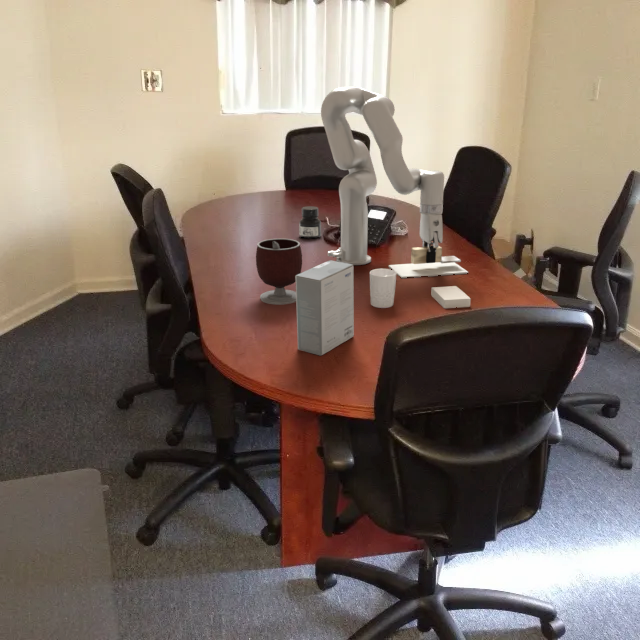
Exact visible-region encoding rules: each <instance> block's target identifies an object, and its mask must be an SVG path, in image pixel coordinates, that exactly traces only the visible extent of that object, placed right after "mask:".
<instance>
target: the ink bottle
mask: <svg viewBox="0 0 640 640" xmlns="http://www.w3.org/2000/svg"><path fill="white" fill-rule="evenodd" d="M301 217H302V218H301V219H300V220H299V225H298V228H299V229H298V232H299V233H298V234H299V237H300V236H301V237H305V238H304V239H306V238H315V239H317V238H316V237H319V238H320V237H322V221H321V220H320V219H319V207H318V206H307V205H306V206H303V207H301ZM301 237H300V238H301Z"/></svg>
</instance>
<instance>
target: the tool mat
mask: <svg viewBox="0 0 640 640" xmlns="http://www.w3.org/2000/svg"><path fill="white" fill-rule="evenodd" d="M388 269H392V270H394V271H396V273H397V274H396V276H398V277H399V276H400V277H401V279H408V278H407V277H414V278H422V277H421V276H428V277H438V275H441V276H454V275H453V274H455V275H467V273H468V274H469V271H468V270H466V269H465V268H463V267H462V266H461V265H460V264H458V263H457V262H453V263H441V262H436V263H423V264H413V263H412V262H411V263H400V264H389V265H388ZM400 277H399V278H400Z"/></svg>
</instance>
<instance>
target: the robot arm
mask: <svg viewBox="0 0 640 640" xmlns="http://www.w3.org/2000/svg"><path fill="white" fill-rule="evenodd" d="M395 112H396V111H395V104H394V103H393V100H391V99H390V98H389V97H387V96H385V95H382V94H379V93H377V92H373V91H370V90H367V89H365V88H362V87H359V86H353V85H352V86H341V87H337V88H335V89H333V90H331V91H330V92H329V93H328V94H327V95H326V96H325V97H324V99H323V101H322V104H321V108H320V114H321V115H320V116H321V117H320V118H321V120H322V124H323V128H324V130H325V134H326V137H327V141H328V145H329V148H330V151H331V154H332V158H333V161H334V164H335V166H336V167H337V168H338V169H339V170H341V171H342V170H343V171H348V174H347V175H345V176H343V178H342V179H341V180H340V183H339V185H338V195H339V202H340V247H338V249H335V250H327V257H332V258H336V260H335V261H337V262H343V263H348V264H353V266H361V265H362V266H364V265H366V264H369V263H371V262H372V257H371V256H370V255H368V225H369V224H368V221H369V220H368V219H369V218H368V217H369V216H368V215H369V213H368V212H369V210H368V203H367V197H368V196H370V195H372V193H374V192H375V191H376V188H377V185H378V180H377V174H376V172H375V168H374V165H373V161H372V157H371V154H370V151H369V149H368V147H367V146H366V144H365V143H364V142H363V141H361V140H359V139H355V138H354V136H353V132H352V128H351V126H350V124H349V121H348V120H347V117H346V115H347V114H350V113H355V114H358V115H361V116H363V117H362V118H363V119H364V121H365V123H366V124H367V128H369V131H370V132H371V135H372V137H373V139H374V141H375V142H376V145H377V146H378V149H379V151H380V159H381V163H382V166H383V170H384V172H385V175H386V176H387V178H388V180H389V182H390V184H391V186H392V187H393V189H394V190H395V191H396V192H397V193H398V194H400V195H402V196H407V195H410V194H413V193H414V192H417V191H420V201H419V214H420V222H419V238H420V239H421V242H422V246H421V247H428V252H427V254H426V263H435V261H436V249H437V248H438V246H440V245H439V244H442V243H443V215H442V214H443V209H444V207H443V205H444V191H445V190H444V188H445V186H444V185H445V174H444V172H443V171H440V170H424V169H419V168H416V167H415V168H414V167H413V168H408V166H407V164H406V161H405V159H404V156H403V151H402V147H403V140H404V138H403V135H402V132H401V131H400V129H399V127H398V125H397V123H396V121H395V119H394V115H395ZM430 246H431V247H430Z"/></svg>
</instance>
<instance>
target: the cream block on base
mask: <svg viewBox="0 0 640 640" xmlns="http://www.w3.org/2000/svg"><path fill="white" fill-rule="evenodd" d="M430 247H431V246H430ZM410 251H411V252H410V263H411V264H412V263H413V264H423V263H426V254H427V252H428V247H422V246H420V247H417V246H416V247H411V250H410ZM436 262H441V263H453V262H455V263H461V262H462V260H461V258H458V257H457V256H455V255H446V256H445V255H444V256H443V247H442V246H440V245H439V246H438V248H437V249H436V261H435V263H436Z"/></svg>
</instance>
